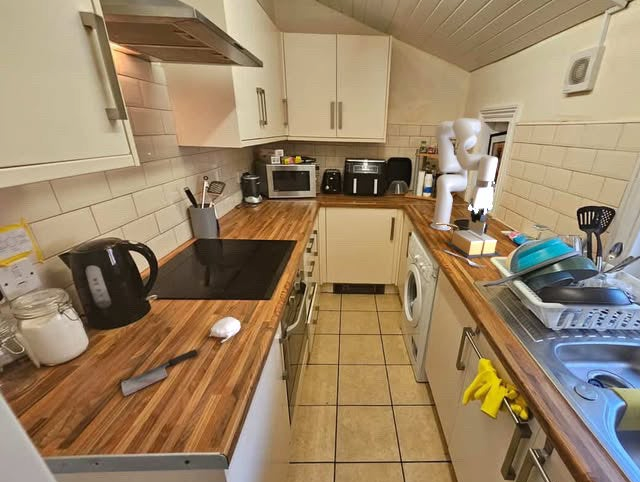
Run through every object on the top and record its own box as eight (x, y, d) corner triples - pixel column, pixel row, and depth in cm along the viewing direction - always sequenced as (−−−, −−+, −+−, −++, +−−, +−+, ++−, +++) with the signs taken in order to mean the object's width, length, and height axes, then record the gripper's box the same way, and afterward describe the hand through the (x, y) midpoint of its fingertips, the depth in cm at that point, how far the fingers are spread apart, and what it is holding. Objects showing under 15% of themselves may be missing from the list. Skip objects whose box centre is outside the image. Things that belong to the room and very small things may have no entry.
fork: (446, 249, 150) (446, 246, 149) (486, 269, 131) (487, 265, 130) (441, 250, 149) (442, 247, 148) (481, 270, 129) (482, 266, 129)
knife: (465, 228, 154) (469, 209, 150) (470, 228, 154) (474, 209, 150) (479, 236, 143) (483, 216, 139) (485, 236, 144) (489, 216, 140)
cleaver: (122, 395, 65) (119, 381, 68) (124, 398, 65) (121, 384, 69) (201, 358, 75) (195, 348, 78) (202, 361, 75) (195, 351, 79)
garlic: (221, 344, 82) (219, 333, 80) (205, 336, 85) (203, 325, 83) (245, 329, 88) (243, 318, 87) (229, 321, 91) (227, 311, 90)
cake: (446, 243, 159) (448, 229, 156) (475, 241, 163) (478, 228, 160) (467, 258, 141) (469, 243, 138) (500, 255, 145) (503, 241, 142)
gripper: (494, 182, 144) (486, 219, 152) (464, 182, 141) (458, 220, 148) (504, 185, 138) (496, 223, 145) (473, 185, 134) (466, 225, 141)
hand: (477, 221), depth 146 cm, fingers closed on knife, 3 cm apart
